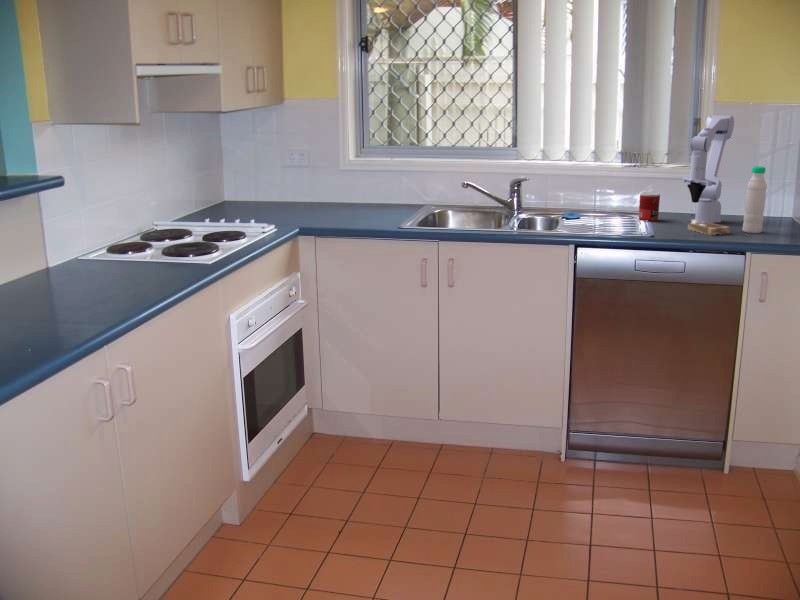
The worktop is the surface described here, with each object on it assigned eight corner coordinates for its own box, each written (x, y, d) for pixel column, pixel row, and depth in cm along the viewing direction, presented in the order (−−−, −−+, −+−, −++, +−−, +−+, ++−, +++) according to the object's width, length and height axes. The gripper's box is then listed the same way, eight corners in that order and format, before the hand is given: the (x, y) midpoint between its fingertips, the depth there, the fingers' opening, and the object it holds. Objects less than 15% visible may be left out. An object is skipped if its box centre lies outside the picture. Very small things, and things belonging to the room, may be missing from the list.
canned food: (653, 222, 358) (655, 195, 356) (635, 220, 363) (637, 193, 360) (660, 219, 364) (663, 193, 362) (642, 217, 369) (644, 191, 366)
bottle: (695, 218, 343) (708, 221, 336) (699, 225, 344) (712, 228, 338) (688, 223, 342) (702, 226, 335) (692, 230, 344) (705, 234, 337)
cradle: (706, 228, 345) (706, 221, 345) (729, 233, 334) (730, 227, 333) (687, 229, 342) (688, 223, 341) (710, 235, 331) (711, 228, 330)
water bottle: (763, 234, 333) (770, 168, 327) (743, 233, 335) (750, 167, 328) (759, 230, 340) (766, 166, 334) (740, 230, 341) (747, 165, 335)
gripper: (677, 166, 347) (674, 200, 350) (703, 170, 334) (699, 205, 337) (691, 165, 349) (688, 199, 353) (717, 169, 336) (714, 204, 340)
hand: (695, 202), depth 345 cm, fingers closed
